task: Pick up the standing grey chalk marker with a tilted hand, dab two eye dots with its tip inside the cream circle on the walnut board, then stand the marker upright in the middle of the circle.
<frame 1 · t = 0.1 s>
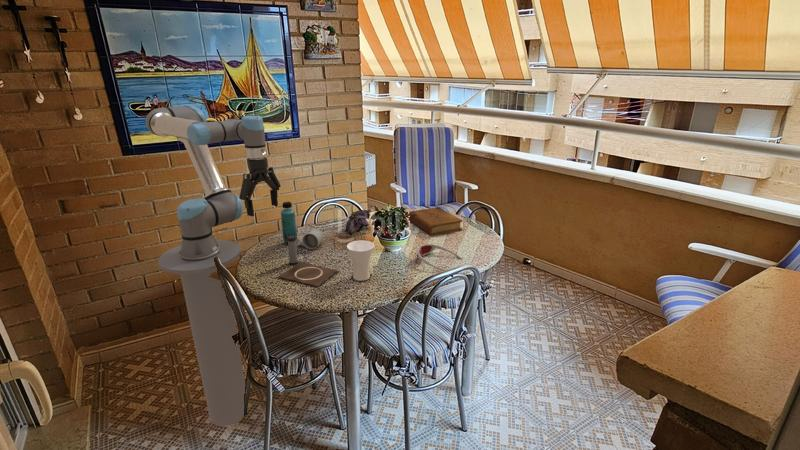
hand: (263, 210, 163), 24 cm above the table, tool pointing down, fingers open, 13 cm apart
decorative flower: (358, 230, 208), on the table
cup: (361, 277, 161), on the table
sunglasses: (436, 261, 174), on the table
drawing board: (308, 274, 162), on the table
beverage bottle: (290, 243, 192), on the table
diary: (434, 226, 214), on the table
marker: (293, 263, 172), on the table
ceramic mug: (311, 246, 189), on the table
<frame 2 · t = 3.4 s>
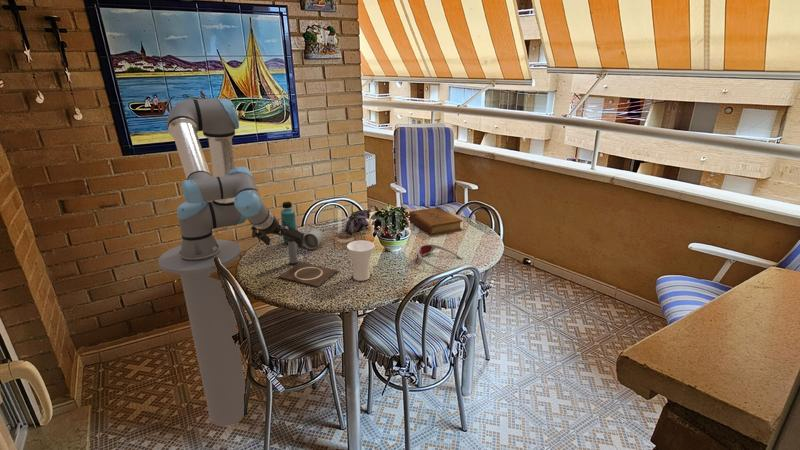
hand: (285, 243, 162), 12 cm above the table, tool tilted 45°, fingers open, 13 cm apart
nothing on the table moved.
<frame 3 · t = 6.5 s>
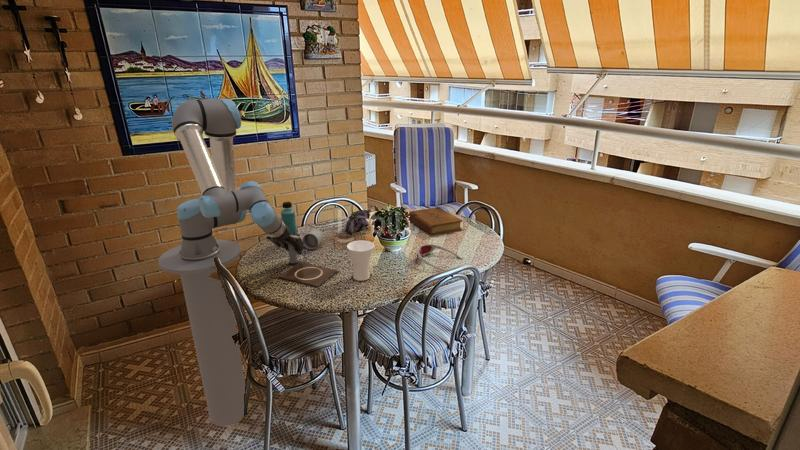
hand: (296, 251, 174), 4 cm above the table, tool tilted 45°, fingers closed on marker, 3 cm apart
marker: (293, 263, 172), on the table, touching gripper
everything else where it was.
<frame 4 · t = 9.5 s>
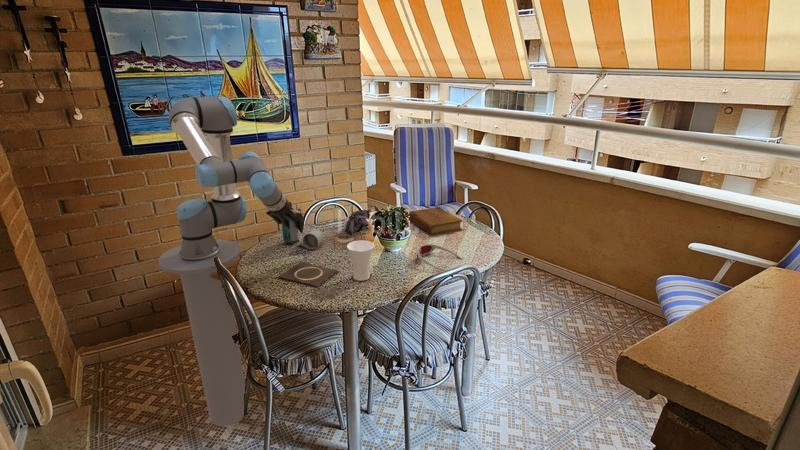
hand: (297, 229, 168), 15 cm above the table, tool tilted 45°, fingers closed on marker, 3 cm apart
marker: (294, 241, 165), point 11 cm above the table, touching gripper
everything else where it was.
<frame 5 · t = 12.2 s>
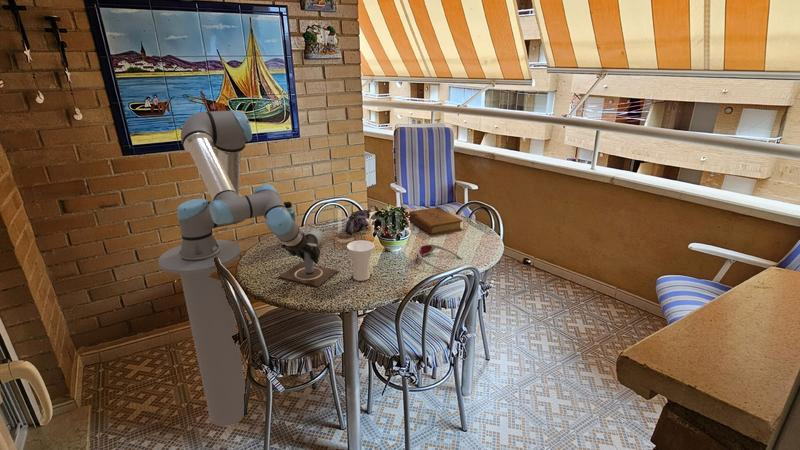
hand: (312, 260, 161), 6 cm above the table, tool tilted 45°, fingers closed on marker, 3 cm apart
marker: (309, 272, 159), point 2 cm above the table, touching gripper
everything else where it was.
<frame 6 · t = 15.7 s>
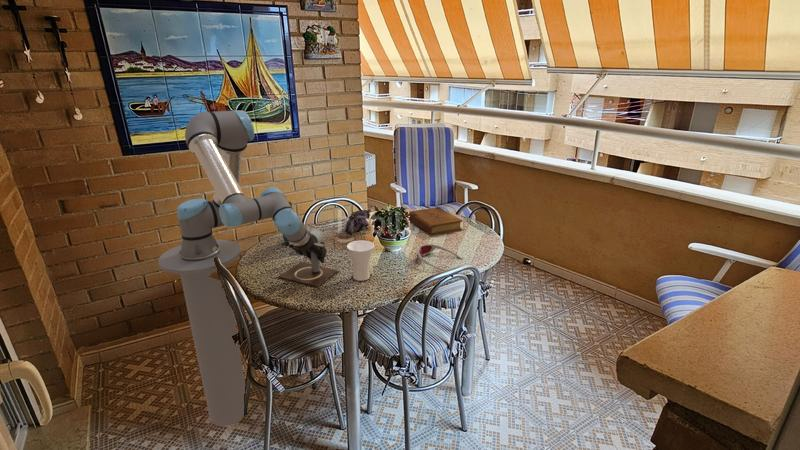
hand: (318, 259, 165), 4 cm above the table, tool tilted 45°, fingers closed on marker, 3 cm apart
marker: (315, 272, 163), point 1 cm above the table, touching drawing board, gripper
everything else where it was.
when the fingers open (4 cm above the table, at t = 18.2 s): marker stays where it is, resting on drawing board.
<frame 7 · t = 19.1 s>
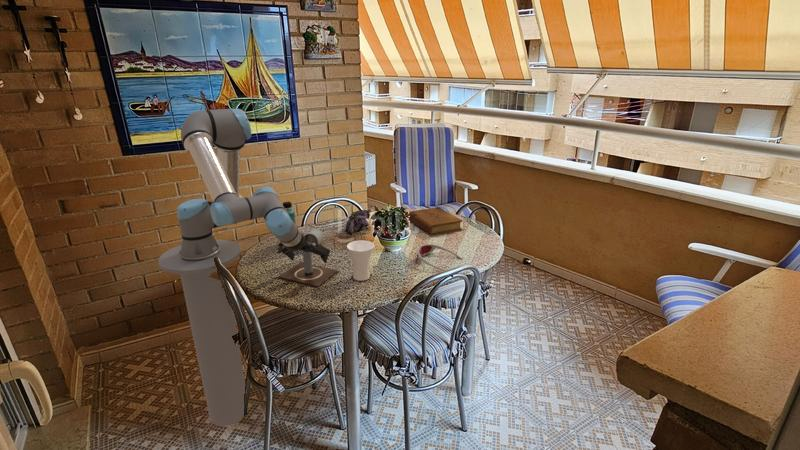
hand: (309, 258, 162), 6 cm above the table, tool tilted 45°, fingers open, 13 cm apart
marker: (308, 273, 162), point 1 cm above the table, touching drawing board
everything else where it was.
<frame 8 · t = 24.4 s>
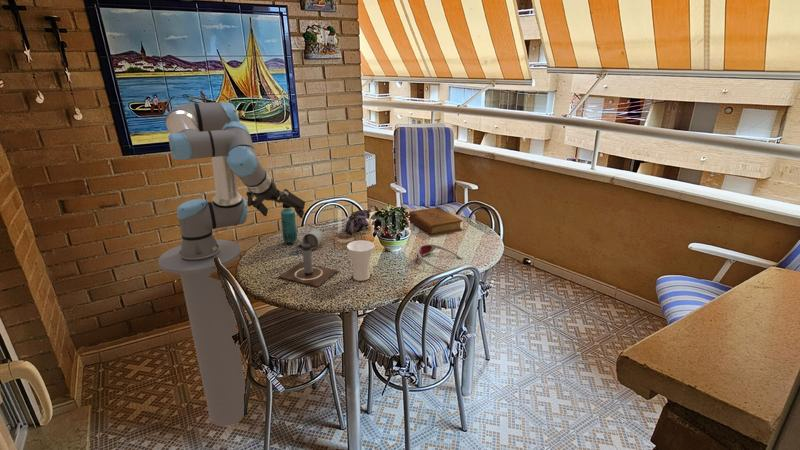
hand: (284, 213, 147), 28 cm above the table, tool tilted 45°, fingers open, 13 cm apart
nothing on the table moved.
at the end: marker 0.1 cm off-centre on the drawing board, point 0.7 cm above the drawing board's base; marker tilted 0°; marker moved 13.5 cm from its start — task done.
